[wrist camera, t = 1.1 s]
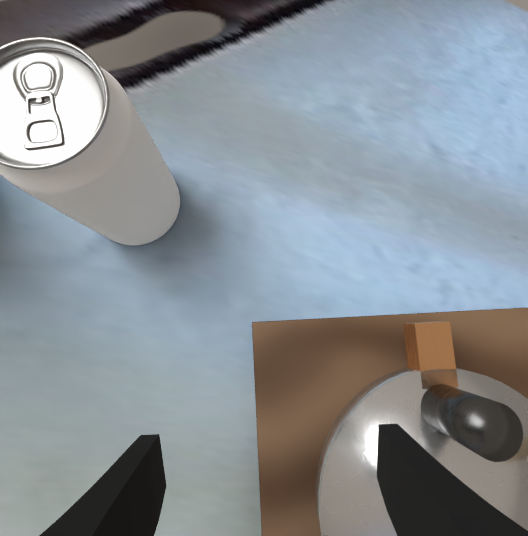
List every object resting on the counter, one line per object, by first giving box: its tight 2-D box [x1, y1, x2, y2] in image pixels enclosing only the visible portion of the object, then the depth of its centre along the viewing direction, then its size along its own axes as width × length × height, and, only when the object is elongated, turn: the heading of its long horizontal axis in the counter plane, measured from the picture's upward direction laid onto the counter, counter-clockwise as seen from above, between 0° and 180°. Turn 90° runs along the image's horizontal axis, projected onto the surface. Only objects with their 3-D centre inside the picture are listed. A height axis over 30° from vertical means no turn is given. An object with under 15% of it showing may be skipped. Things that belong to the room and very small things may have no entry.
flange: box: [315, 322, 528, 536], centre depth 17 cm, size 16×14×6 cm
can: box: [0, 37, 180, 245], centre depth 19 cm, size 6×6×12 cm
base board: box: [252, 308, 528, 536], centre depth 20 cm, size 20×20×6 cm
